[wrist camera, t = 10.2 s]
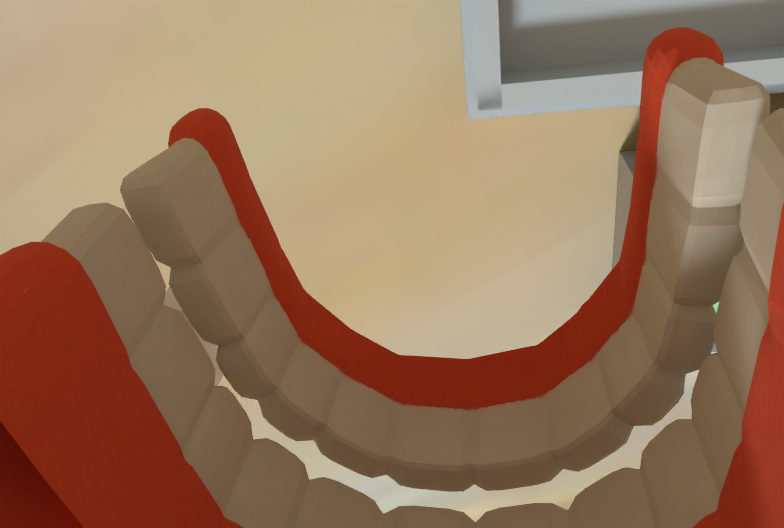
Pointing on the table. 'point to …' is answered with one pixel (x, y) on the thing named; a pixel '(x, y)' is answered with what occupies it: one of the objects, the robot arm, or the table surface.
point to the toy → (398, 372)
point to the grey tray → (600, 49)
